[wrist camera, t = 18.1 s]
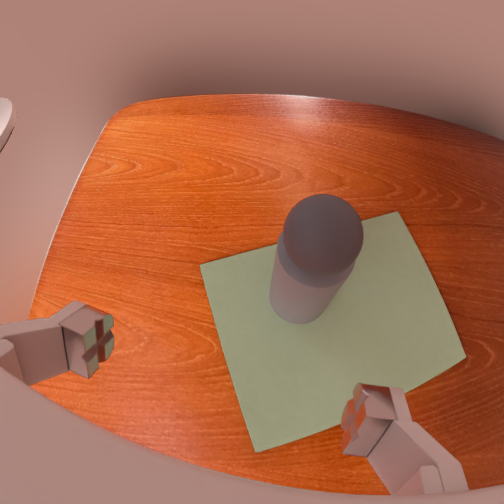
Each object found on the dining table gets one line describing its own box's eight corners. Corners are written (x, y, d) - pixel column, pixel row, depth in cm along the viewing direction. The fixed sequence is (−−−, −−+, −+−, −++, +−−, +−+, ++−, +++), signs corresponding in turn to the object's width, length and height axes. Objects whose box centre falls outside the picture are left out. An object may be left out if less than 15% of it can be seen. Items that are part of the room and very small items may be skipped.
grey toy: (280, 332, 24) (305, 269, 14) (261, 277, 27) (269, 184, 16) (335, 313, 25) (394, 241, 14) (314, 262, 27) (352, 167, 17)
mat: (255, 452, 21) (255, 452, 20) (200, 267, 27) (199, 264, 27) (463, 358, 23) (466, 357, 23) (396, 213, 30) (397, 210, 30)
